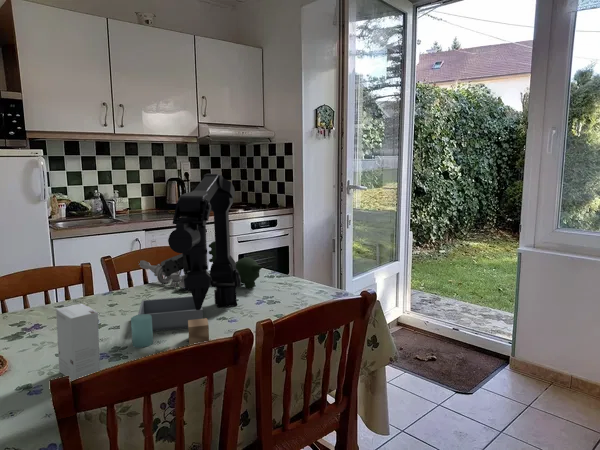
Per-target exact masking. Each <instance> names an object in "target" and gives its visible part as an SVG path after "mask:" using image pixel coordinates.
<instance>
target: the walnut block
mask: <svg viewBox="0 0 600 450" xmlns="http://www.w3.org/2000/svg"><path fill="white" fill-rule="evenodd" d="M187 329H188V345H189V344H194V343H198V342H204V341H209V342H210V332H209V331H210V329H209V321H208V318H206V317H205V318H203V319H195V320H188V328H187Z"/></svg>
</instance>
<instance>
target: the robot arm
mask: <svg viewBox="0 0 600 450" xmlns="http://www.w3.org/2000/svg"><path fill="white" fill-rule="evenodd" d="M235 194H236V193H235V186H234V185H233V183H232V181H230V180H229V179H227V178H224V177H223V175H222V174H220V173H206V174H204V175H203V176H202V180H200V182H199V183H198V185H197V186H196V187H195V188H194V190H193V191H190V192H184V193H183V194H181V195H180V196H179V198H178V199H177V201H176V204H175V210H174V213H173V219H172V225H175V229H173V230H172V231H171V233H170V234H169V236H168V238H167V242H168V246H169V248H170V249H171V250H172V251H173V252H175V253H178V255H174V256H171V257H170V258H166V259H164V260H162V261H161V262H160V265H161V266H160V267H161V268H162V271H163V272H164V274H165V276H166V277H165V278H167V276H170V275H171V274H173V273H175V272H178V271H179V272H180V270H182V271H183V274H184V287H183V288H185V290H188V291H189V292H190V293H191V296H193V300H194V304H195V308H196V310H200V309H201V307H202V308H203V304H204V301H205V299H206V296H207V294H208V292H209V289H210V287H211V288H215V289H214V291H213V293H214V304H215V305H216V307H217V308H225V307H228V308H229V307H236V306H238V302H237V288H238V287H241V286H242V283H241V280H240V275H239V273H238V270H237V269H236V262H237V261H235V260H234V257H232V255H231V240H230V239H231V237H230V216H229V211H230V209H231V206H232V205H233V203H234V198H235ZM211 211H212V212H213V228H214V241H215V250H216V258H215V260H214V262H212V263H211V266H210V268H211V270H209V266H208V247H207V226H206V225H207V222H208V221H209V218H210V215H211ZM208 270H209V272H208ZM234 281H235V282H234Z"/></svg>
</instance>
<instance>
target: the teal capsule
mask: <svg viewBox="0 0 600 450" xmlns="http://www.w3.org/2000/svg"><path fill="white" fill-rule="evenodd" d="M130 325H131V327H130V328H131V341H132V343H131V344H132V347H134V348H139V349H140V348H146V347H149V346H152V345H153V344H154V336H153V335H154V331H152V316H151V315H149V314H140V315H138V314H136V315H133V316H132V317H131V318H130Z"/></svg>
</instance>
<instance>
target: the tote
mask: <svg viewBox="0 0 600 450" xmlns="http://www.w3.org/2000/svg"><path fill="white" fill-rule="evenodd" d="M139 305H140V306H139V310H138V313H137V315H140V314H149V315H151V316H152V331H153V332H162V331H163V332H164V331H171V330H180V329H181V330H182V329H188V320H195V319H204V311H203V306H202V307H201V309H200V310H196V308H195V304H194V300H193V296H192V295H190V296H180V297H179V296H177V297H167V298H166V297H165V298H155V299H143V300H141V302H140V304H139Z"/></svg>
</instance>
